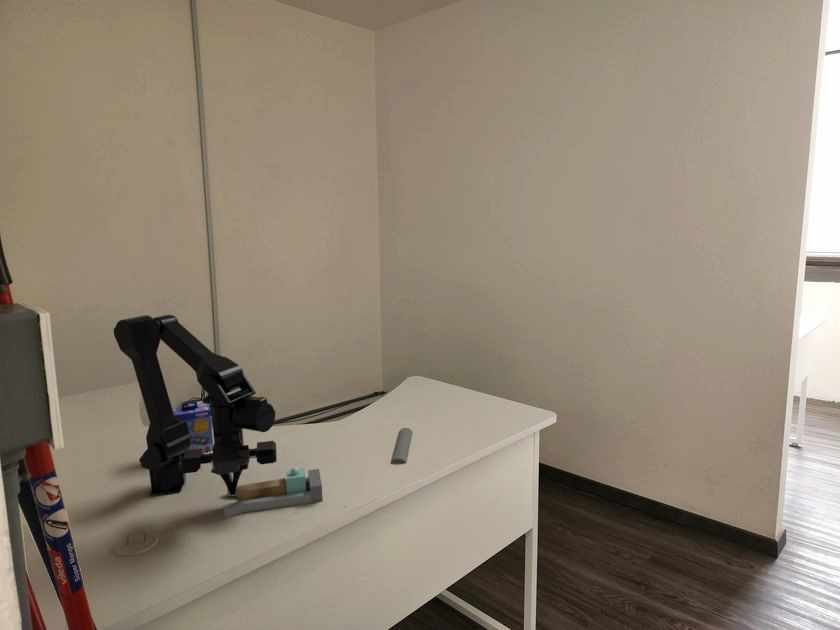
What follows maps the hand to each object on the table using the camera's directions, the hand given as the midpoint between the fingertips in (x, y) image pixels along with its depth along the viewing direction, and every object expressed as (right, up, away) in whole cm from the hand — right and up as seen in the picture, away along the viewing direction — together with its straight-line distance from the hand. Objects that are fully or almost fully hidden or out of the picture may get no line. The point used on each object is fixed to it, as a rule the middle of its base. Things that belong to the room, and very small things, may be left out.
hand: (233, 494), depth 114 cm
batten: (+6, -2, +2) cm, 6 cm away
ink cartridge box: (-19, +2, +26) cm, 32 cm away
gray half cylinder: (+35, +3, +28) cm, 45 cm away
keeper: (+13, -1, +4) cm, 13 cm away
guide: (+9, -2, +3) cm, 9 cm away
